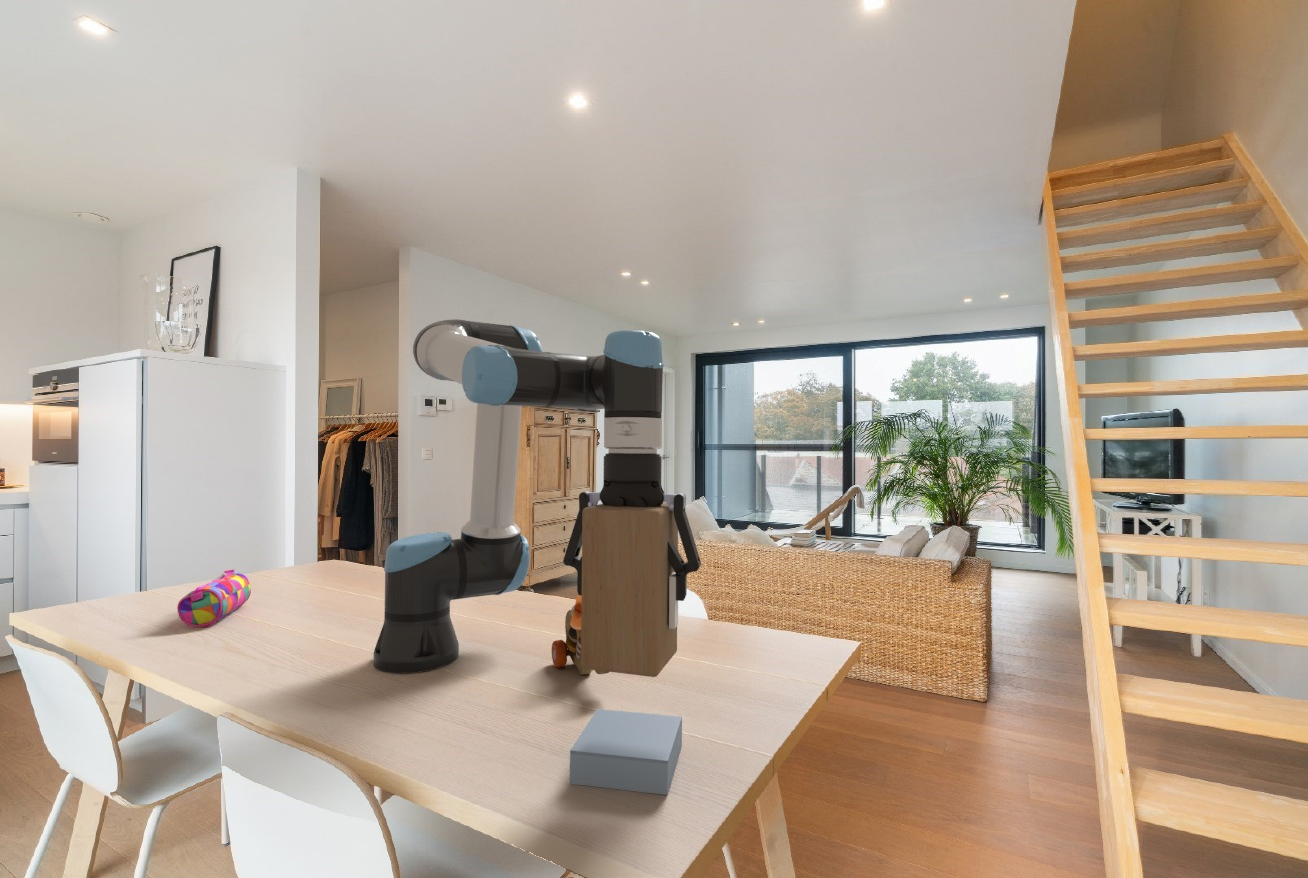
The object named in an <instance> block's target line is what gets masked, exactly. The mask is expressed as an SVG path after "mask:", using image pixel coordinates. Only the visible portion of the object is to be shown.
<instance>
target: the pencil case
mask: <svg viewBox="0 0 1308 878" xmlns="http://www.w3.org/2000/svg"><path fill="white" fill-rule="evenodd" d="M251 593H252V587H251V584H250V581H249V579H248V577H247V576H246V575H245V574H243V573H239V572H235V569H228V570H224V571H223V572H222V574H221V575H220V576H218V577H216V578H215V579H213V580H211V581H210V582H208V583H205V584H204V585H201V586H198V587H196V589H194V590H192V591H190V592H189V593H188V594H186V595H185V596H183V597H182V598H181V599H180V600H179V601H178V603H177V606H176V607H177V613H178V617H179V619H180V621H182V623H183V624H185V625H187V626H189V627H193V628H206V627H210V626H212V625H214V624H215V623H217V622H218V621H220V620H222V619H224V618H225V617H227V616H228V615H229V614H231V613H232V612H234V611H235V610H236V609H238V608H240V607H241V606H243V605H244V604H245V603H246V602H247V601H248V600H249V598H250V597H251Z"/></svg>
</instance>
